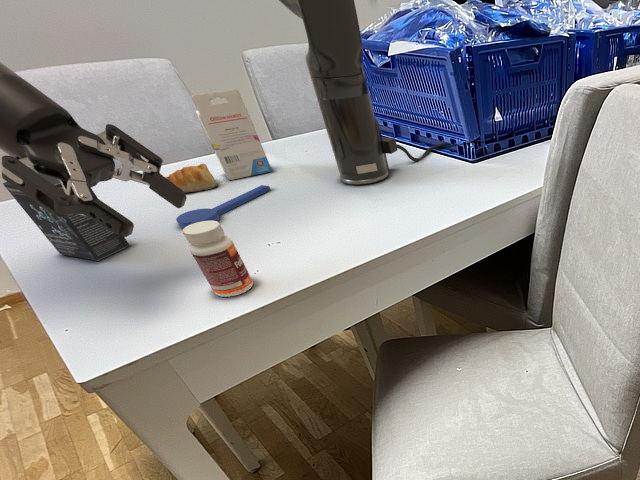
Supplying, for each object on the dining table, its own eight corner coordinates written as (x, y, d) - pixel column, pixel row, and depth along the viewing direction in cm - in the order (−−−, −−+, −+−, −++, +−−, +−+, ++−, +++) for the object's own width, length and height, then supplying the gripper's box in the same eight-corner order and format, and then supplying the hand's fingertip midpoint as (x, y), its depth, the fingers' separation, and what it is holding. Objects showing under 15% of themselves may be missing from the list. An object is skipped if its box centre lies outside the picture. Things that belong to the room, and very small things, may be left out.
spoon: (255, 188, 87) (252, 181, 86) (279, 191, 86) (277, 184, 85) (171, 227, 74) (167, 220, 74) (199, 231, 73) (195, 224, 72)
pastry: (166, 199, 84) (154, 177, 81) (161, 190, 88) (149, 169, 85) (220, 187, 88) (210, 166, 85) (213, 179, 92) (203, 158, 89)
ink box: (267, 166, 97) (233, 84, 87) (273, 171, 94) (239, 88, 84) (224, 174, 94) (185, 90, 83) (229, 180, 91) (189, 94, 80)
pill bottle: (257, 289, 59) (225, 227, 53) (218, 301, 57) (180, 238, 51) (250, 275, 62) (219, 215, 56) (212, 286, 60) (176, 225, 54)
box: (59, 255, 68) (0, 182, 60) (95, 240, 71) (44, 169, 64) (97, 262, 66) (40, 187, 58) (132, 245, 70) (83, 173, 62)
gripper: (-85, 85, 40) (115, 219, 46) (59, 61, 50) (206, 173, 56) (-76, 150, 44) (106, 263, 51) (54, 115, 54) (192, 214, 61)
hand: (158, 216), depth 53 cm, fingers open, 8 cm apart
